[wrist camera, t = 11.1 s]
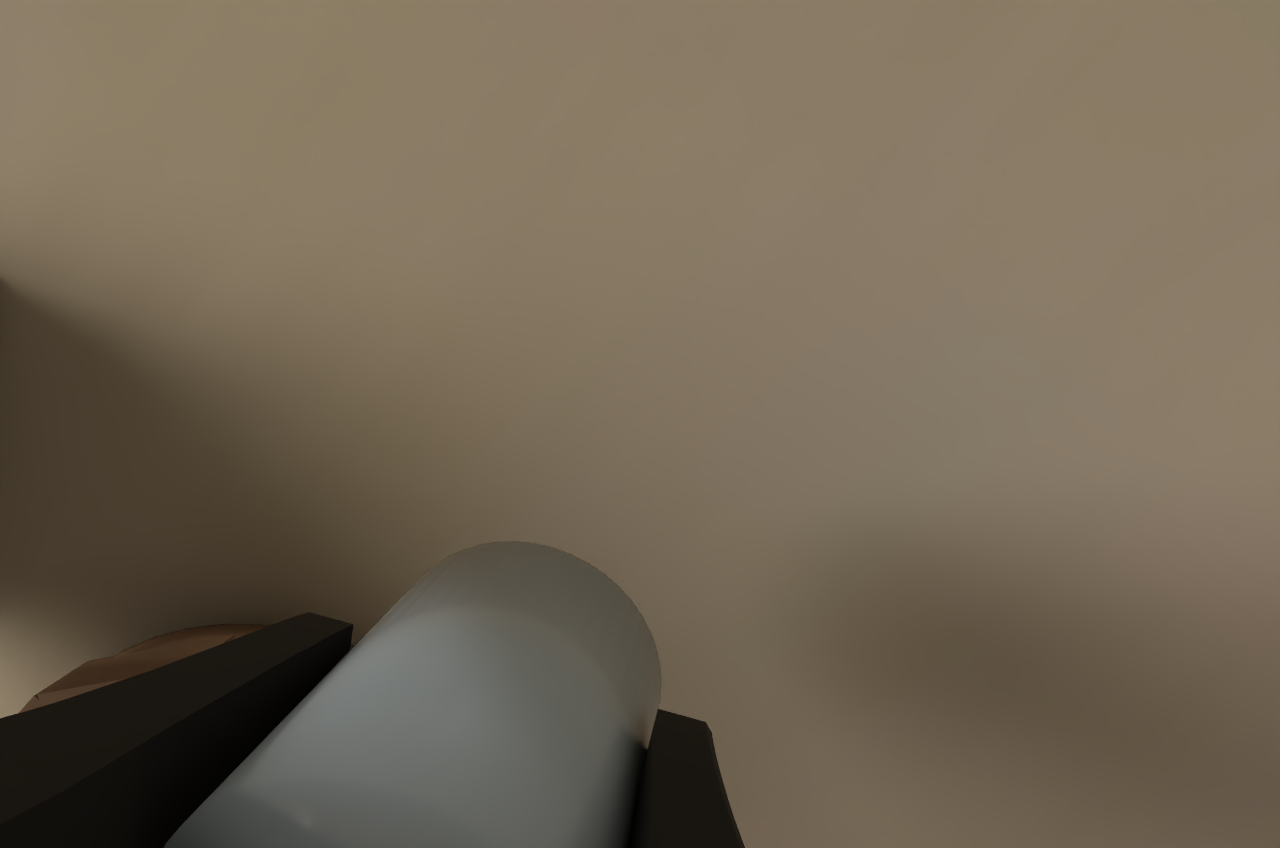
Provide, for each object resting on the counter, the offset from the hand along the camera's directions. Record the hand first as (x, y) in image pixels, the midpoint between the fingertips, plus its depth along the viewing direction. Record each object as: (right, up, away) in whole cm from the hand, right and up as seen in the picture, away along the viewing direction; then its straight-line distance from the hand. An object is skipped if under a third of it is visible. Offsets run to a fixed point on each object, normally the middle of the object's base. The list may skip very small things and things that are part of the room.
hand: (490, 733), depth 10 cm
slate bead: (0, 0, +1) cm, 2 cm away
